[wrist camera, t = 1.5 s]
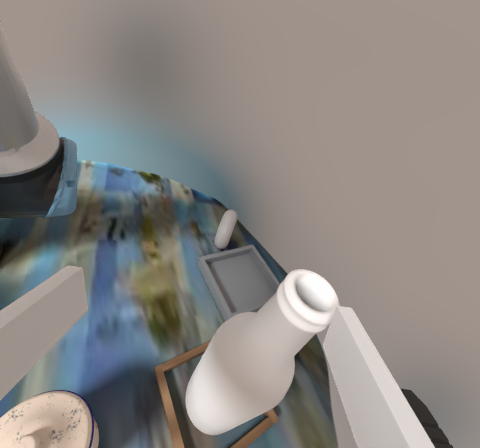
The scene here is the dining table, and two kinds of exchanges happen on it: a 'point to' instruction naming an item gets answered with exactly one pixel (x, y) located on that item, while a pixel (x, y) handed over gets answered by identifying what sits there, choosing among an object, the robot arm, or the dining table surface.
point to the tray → (238, 280)
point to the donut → (225, 229)
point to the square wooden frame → (175, 434)
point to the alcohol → (258, 354)
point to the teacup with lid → (50, 423)
